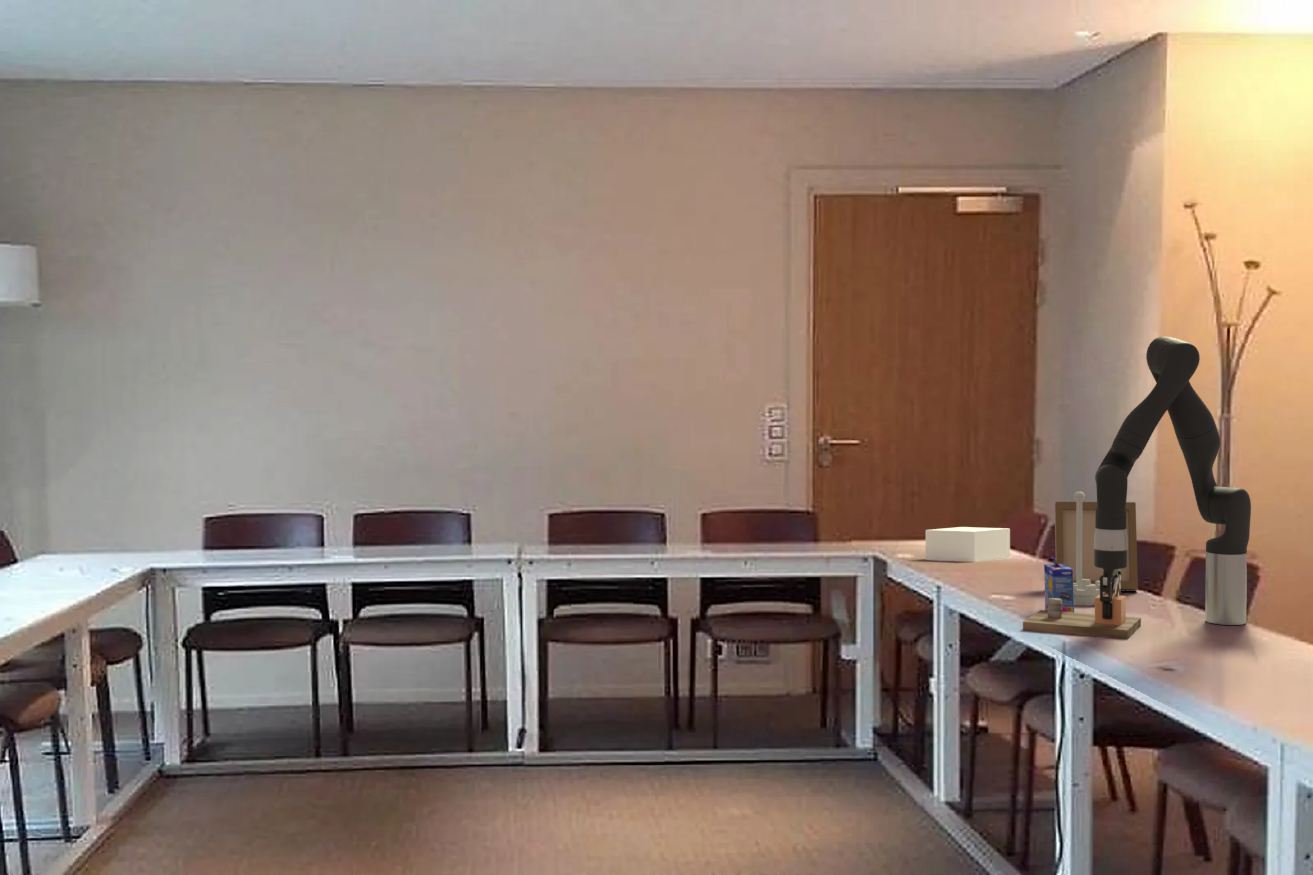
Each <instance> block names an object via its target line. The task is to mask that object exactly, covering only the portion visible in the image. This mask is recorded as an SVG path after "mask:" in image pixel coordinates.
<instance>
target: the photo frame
mask: <svg viewBox="0 0 1313 875" xmlns="http://www.w3.org/2000/svg"><path fill="white" fill-rule="evenodd" d="M1076 503H1077V501H1055V503H1054V526H1055V527H1054V539H1055V540H1054V541H1055V542H1054V543H1055V545H1054V546H1055V547H1054V548H1055V549H1054V550H1055V559H1056V561H1057V562H1058V564H1065V565H1067V566H1068V567H1070V568H1072V569H1073V583H1076ZM1136 503H1137V502H1134V501H1132V502H1131V501H1126V516H1127V520H1126V530H1127V540H1128V544H1127V567H1126V568H1123V569H1118V570H1119V571H1121V591H1133V592H1135V591H1137V590H1139V581H1138V580H1139V579H1138V575H1139V574H1138V542H1137V539H1138V538H1137V536H1138V535H1137V512H1136V511H1137V509H1136V508H1137V506H1136ZM1096 508H1097V501H1082V579H1089V580H1091V584H1095V581H1100V580H1099V578H1100V577H1101V575H1103V571H1104V570H1103V568H1098V567H1095V565H1094V536H1095V515H1096Z"/></svg>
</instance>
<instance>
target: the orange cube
mask: <svg viewBox="0 0 1313 875" xmlns="http://www.w3.org/2000/svg"><path fill="white" fill-rule="evenodd" d="M1105 597H1109V595H1105ZM1126 604H1127V597H1126V595H1120V596H1119V595H1114V597H1113V618H1112V619H1111V620H1108V619H1103V618H1102V602H1100V594H1099V595H1098V596H1097V597H1095V605H1094V614H1095V623H1102V624H1115V625H1122V624H1123V623H1124V622H1125V621H1126V617H1127V615H1126V614H1127V612H1126V611H1127V605H1126Z"/></svg>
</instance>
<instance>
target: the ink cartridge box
mask: <svg viewBox="0 0 1313 875" xmlns="http://www.w3.org/2000/svg"><path fill="white" fill-rule="evenodd" d="M1050 559H1051V560H1052V562H1053V563H1044V564H1043V566H1044V567H1043V568H1044V570H1043V572H1044V573H1043V574H1044V610H1046V611H1048V610H1047V608H1048V604H1047V602H1048V599H1049V598H1059V599H1062V612H1073V613H1075V605H1074V587H1073V569H1072V568H1070V567H1068V566H1067V565H1065V564H1058V562H1057V561H1056V557H1055V558H1054V557H1053V556H1050Z"/></svg>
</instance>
